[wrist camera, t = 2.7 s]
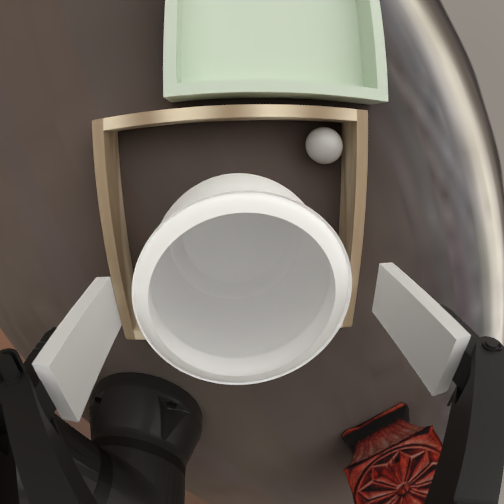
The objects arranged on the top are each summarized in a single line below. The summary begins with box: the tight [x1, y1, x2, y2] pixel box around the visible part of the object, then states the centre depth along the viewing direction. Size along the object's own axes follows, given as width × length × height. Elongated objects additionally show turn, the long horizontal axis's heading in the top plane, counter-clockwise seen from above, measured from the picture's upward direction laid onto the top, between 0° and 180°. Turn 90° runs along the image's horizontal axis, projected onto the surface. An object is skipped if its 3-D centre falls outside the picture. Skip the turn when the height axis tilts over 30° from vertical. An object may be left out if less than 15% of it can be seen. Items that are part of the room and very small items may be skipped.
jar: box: [132, 173, 352, 385], centre depth 21 cm, size 11×10×15 cm
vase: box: [342, 403, 442, 504], centre depth 28 cm, size 14×14×30 cm
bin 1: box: [163, 0, 388, 105], centre depth 20 cm, size 18×18×4 cm
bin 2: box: [92, 104, 368, 340], centre depth 26 cm, size 22×20×4 cm
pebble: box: [305, 127, 343, 164], centre depth 25 cm, size 3×3×3 cm
